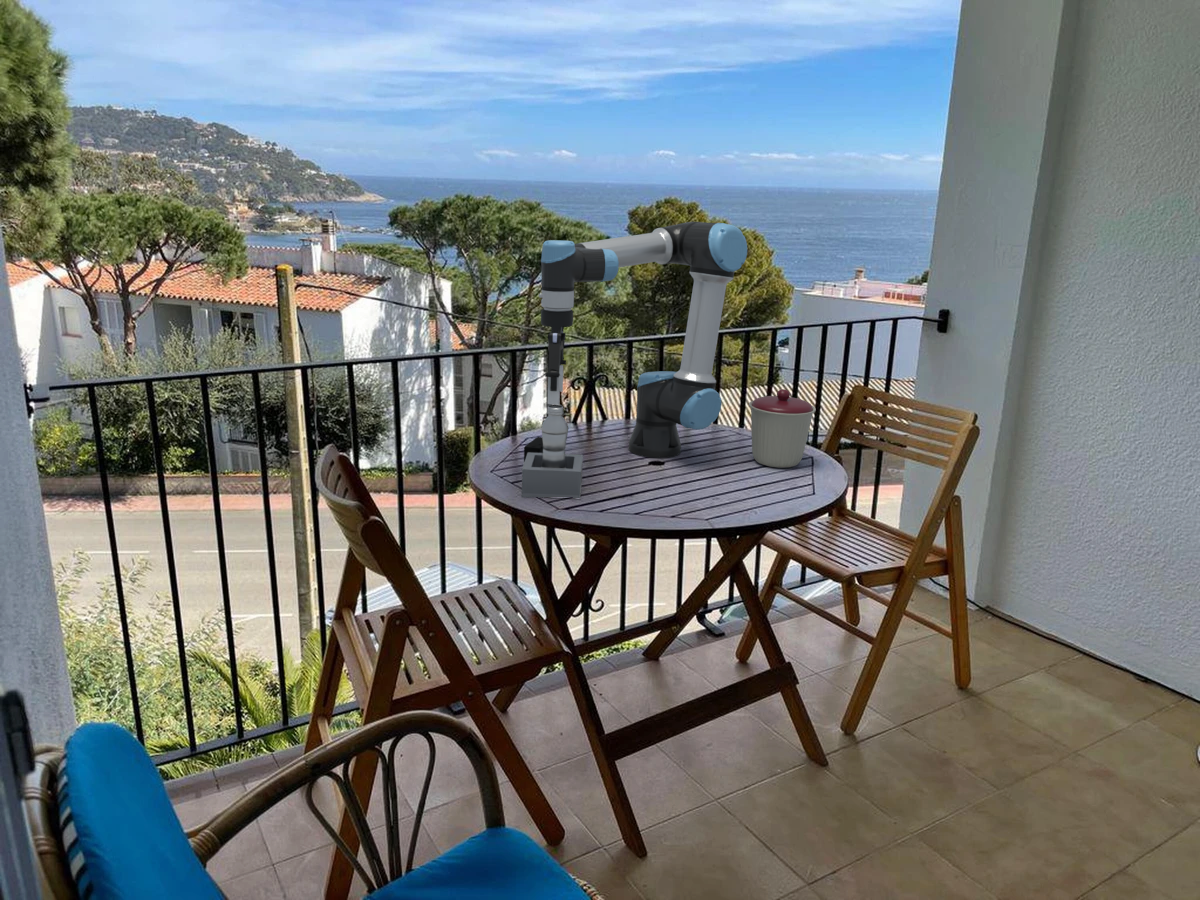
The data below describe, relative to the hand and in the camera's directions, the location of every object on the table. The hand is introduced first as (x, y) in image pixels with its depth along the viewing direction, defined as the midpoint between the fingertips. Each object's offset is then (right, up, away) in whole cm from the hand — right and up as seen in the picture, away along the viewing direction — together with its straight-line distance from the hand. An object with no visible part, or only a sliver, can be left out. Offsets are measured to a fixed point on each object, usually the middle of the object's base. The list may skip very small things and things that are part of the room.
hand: (555, 397), depth 204 cm
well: (-1, -22, +7) cm, 23 cm away
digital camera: (-5, -17, +23) cm, 29 cm away
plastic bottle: (-1, -21, +6) cm, 22 cm away
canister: (+60, -16, +35) cm, 72 cm away
